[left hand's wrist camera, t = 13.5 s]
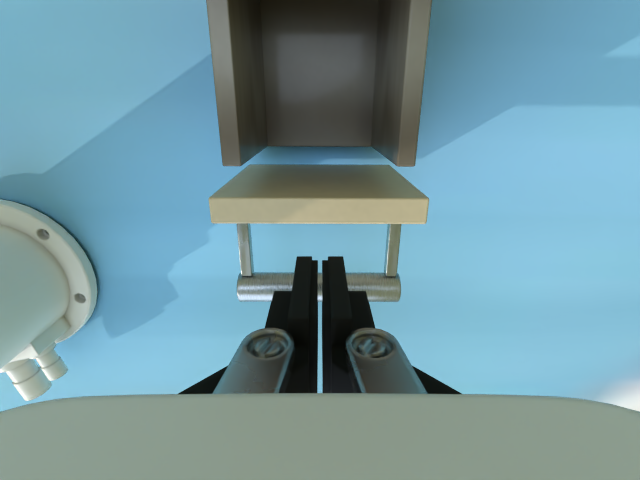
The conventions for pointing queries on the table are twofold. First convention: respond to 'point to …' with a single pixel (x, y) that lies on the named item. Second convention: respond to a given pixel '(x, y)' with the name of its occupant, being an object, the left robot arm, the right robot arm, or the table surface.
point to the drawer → (319, 121)
